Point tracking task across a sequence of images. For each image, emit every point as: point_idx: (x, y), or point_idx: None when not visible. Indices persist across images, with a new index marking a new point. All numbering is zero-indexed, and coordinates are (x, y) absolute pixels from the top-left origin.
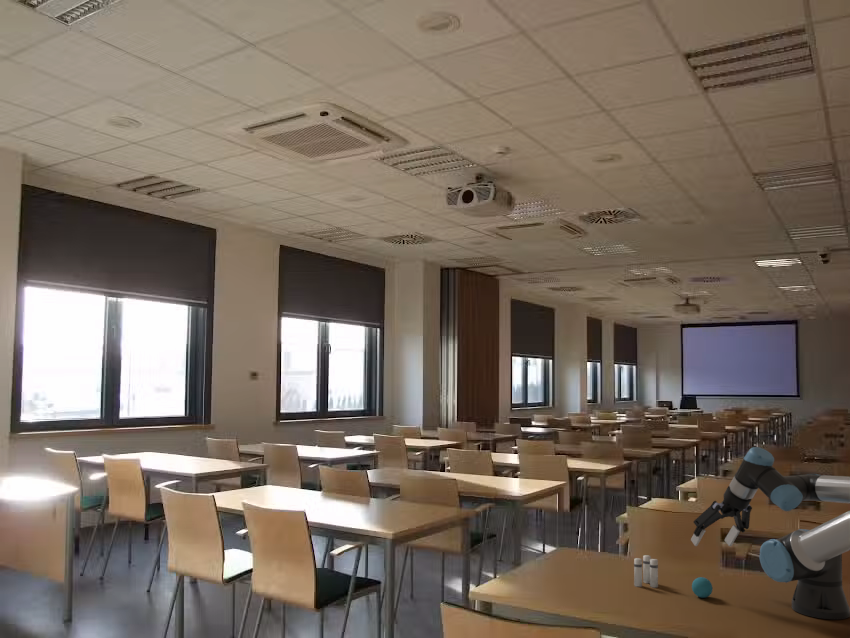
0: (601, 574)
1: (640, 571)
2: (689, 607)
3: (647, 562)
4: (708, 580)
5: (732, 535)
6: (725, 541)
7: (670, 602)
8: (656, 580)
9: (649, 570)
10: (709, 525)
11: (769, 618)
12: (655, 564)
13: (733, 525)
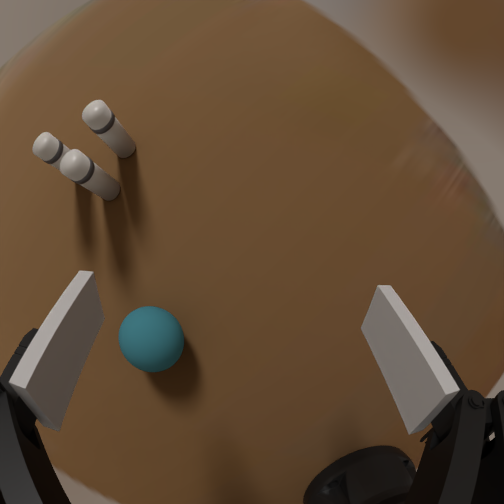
0: (96, 70)
1: (58, 168)
2: None
3: (93, 130)
4: (157, 362)
5: (395, 369)
6: (373, 296)
7: None
8: (100, 194)
9: (109, 142)
10: (55, 479)
11: (209, 495)
12: (72, 179)
13: (443, 398)
